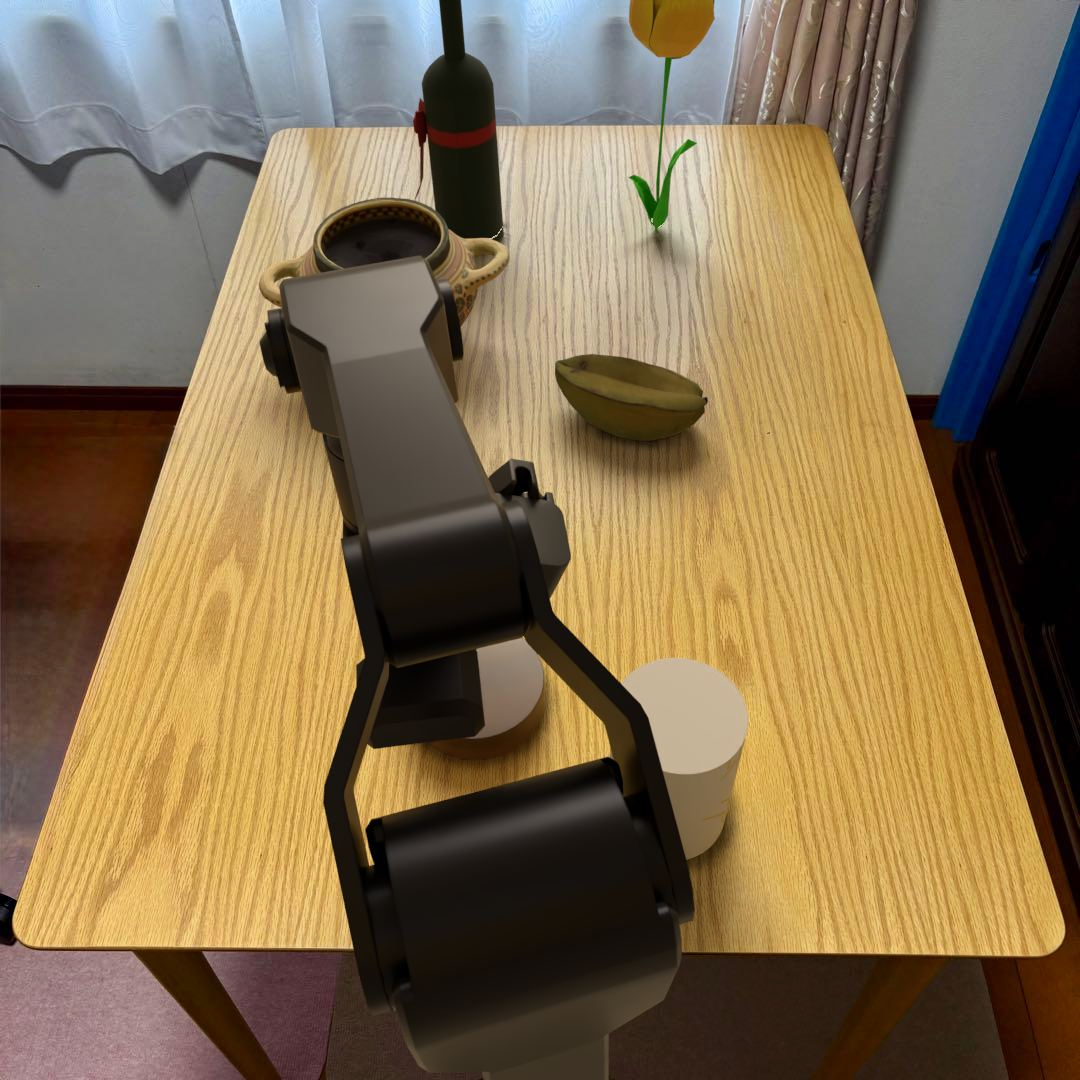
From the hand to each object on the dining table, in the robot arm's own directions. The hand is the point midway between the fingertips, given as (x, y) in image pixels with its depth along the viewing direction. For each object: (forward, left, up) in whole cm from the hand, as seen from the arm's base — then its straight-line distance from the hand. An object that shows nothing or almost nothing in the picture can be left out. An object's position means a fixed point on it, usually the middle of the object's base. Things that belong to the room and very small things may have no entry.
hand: (430, 669), depth 61 cm
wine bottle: (+71, -6, -13) cm, 72 cm away
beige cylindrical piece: (-4, -15, -13) cm, 20 cm away
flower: (+68, -29, -13) cm, 75 cm away
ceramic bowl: (+51, +2, -13) cm, 53 cm away
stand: (+6, -3, -13) cm, 15 cm away
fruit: (+36, -20, -13) cm, 43 cm away
